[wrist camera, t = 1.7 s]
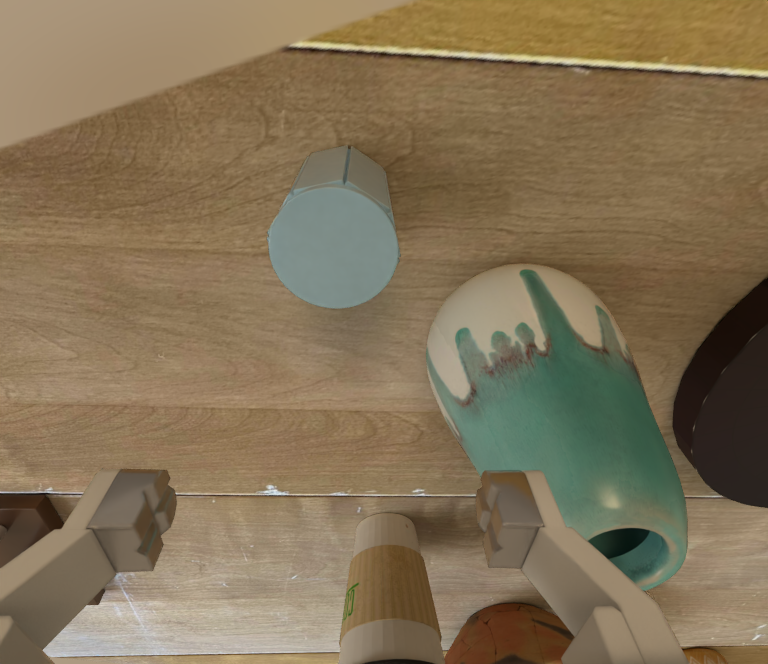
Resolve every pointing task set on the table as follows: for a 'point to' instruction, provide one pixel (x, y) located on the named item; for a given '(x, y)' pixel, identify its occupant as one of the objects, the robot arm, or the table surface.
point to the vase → (560, 410)
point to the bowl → (511, 637)
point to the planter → (704, 656)
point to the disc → (729, 404)
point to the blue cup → (335, 230)
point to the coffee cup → (389, 598)
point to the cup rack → (27, 526)
